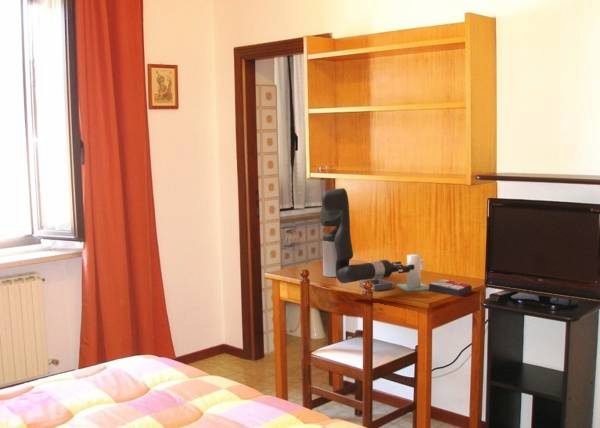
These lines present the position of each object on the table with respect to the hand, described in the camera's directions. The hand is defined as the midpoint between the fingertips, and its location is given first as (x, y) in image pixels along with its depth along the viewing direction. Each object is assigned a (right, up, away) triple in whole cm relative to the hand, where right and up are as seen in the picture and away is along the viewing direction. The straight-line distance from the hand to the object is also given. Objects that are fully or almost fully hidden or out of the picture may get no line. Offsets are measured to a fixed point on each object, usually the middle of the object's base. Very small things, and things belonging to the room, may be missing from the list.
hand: (407, 265), depth 303 cm
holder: (-13, -10, +5) cm, 17 cm away
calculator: (+18, -12, -4) cm, 22 cm away
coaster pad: (+4, -10, +3) cm, 11 cm away
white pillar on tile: (+4, -10, +4) cm, 11 cm away
